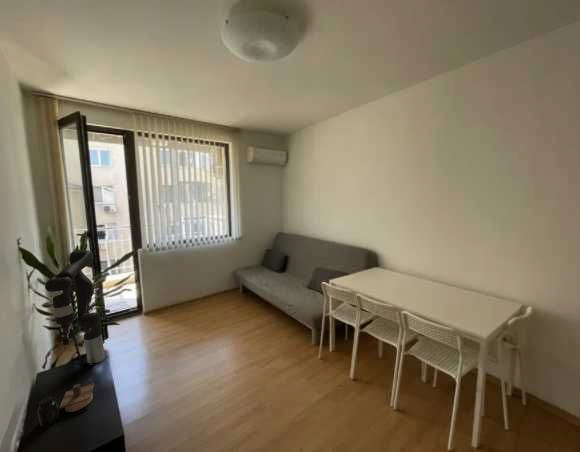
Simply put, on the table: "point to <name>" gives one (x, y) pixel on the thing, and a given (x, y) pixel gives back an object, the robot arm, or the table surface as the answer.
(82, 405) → the bowl
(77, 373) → the table surface
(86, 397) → the lid
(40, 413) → the supplement bottle
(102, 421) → the table surface
